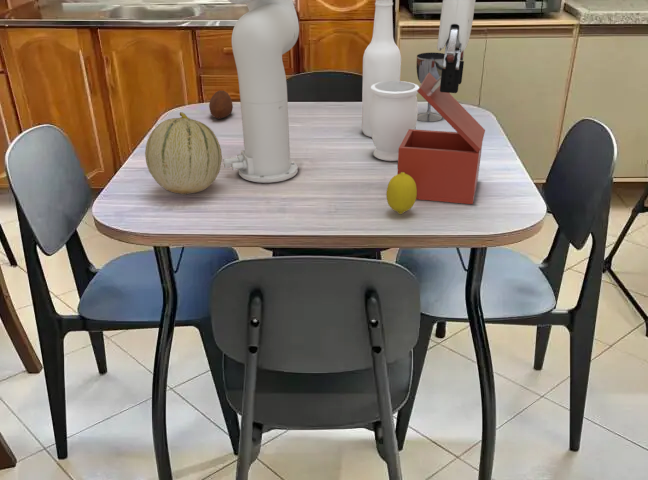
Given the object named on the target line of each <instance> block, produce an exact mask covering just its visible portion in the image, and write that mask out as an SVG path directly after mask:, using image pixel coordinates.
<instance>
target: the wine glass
mask: <svg viewBox="0 0 648 480" xmlns="http://www.w3.org/2000/svg"><path fill="white" fill-rule="evenodd" d="M444 55H445V53H442V52H422V53H418V54H417V55H416V68H415V69H416V76H417V79H418V82H419V83H420V85H421V84H422V82H423V80H424V79H425V77H426V75H427V74H428V73H430V74H431V75H432V76H433V77H434V78H435V79H436V80H438V79H439V78H440V77H441V73H442V68H443V63H444ZM431 108H432V106H431V105H430V104H429V103H428V102H427V111H426V112H423V113H418V117H417V121H421V122H438V121H440V120H442V119H443V117H442V116H441V115H440V114H439V113H438V114H437V113H432V112H431Z"/></svg>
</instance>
